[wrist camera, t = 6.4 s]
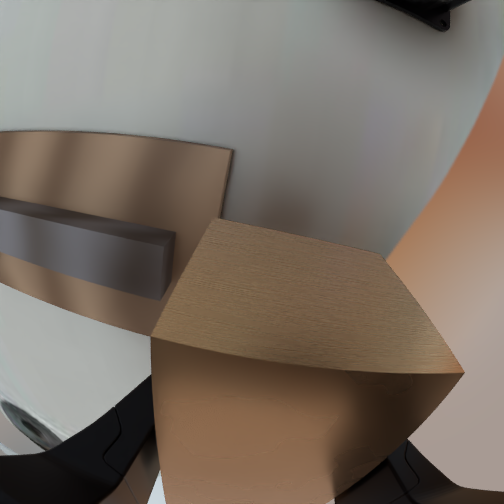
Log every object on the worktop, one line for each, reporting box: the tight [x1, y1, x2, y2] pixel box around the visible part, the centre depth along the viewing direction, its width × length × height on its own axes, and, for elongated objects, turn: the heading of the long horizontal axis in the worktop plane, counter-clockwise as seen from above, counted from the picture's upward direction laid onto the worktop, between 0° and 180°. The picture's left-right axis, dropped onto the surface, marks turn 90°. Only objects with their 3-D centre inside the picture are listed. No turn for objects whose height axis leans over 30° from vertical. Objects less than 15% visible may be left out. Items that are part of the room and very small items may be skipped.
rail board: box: [0, 131, 233, 337], centre depth 14 cm, size 20×12×4 cm, turn 78°
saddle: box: [151, 217, 465, 504], centre depth 8 cm, size 5×9×5 cm, turn 168°
